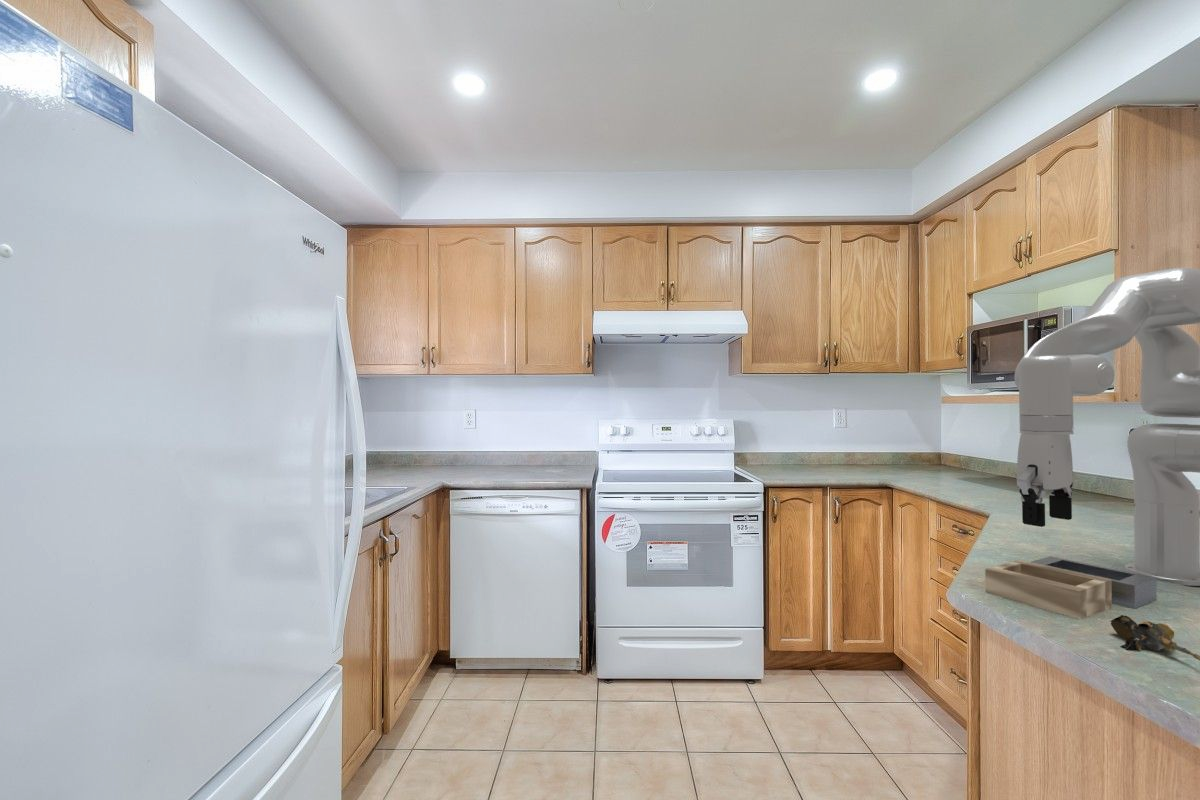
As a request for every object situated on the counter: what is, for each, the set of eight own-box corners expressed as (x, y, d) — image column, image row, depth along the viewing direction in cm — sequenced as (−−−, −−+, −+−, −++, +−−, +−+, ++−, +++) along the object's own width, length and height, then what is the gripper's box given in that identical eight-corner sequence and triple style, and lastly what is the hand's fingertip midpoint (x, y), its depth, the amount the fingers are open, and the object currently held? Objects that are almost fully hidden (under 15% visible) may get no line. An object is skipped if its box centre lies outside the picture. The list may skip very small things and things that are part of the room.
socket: (1019, 585, 109) (1018, 559, 109) (1111, 608, 97) (1111, 579, 97) (985, 596, 103) (985, 568, 103) (1079, 622, 91) (1079, 591, 91)
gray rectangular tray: (1050, 575, 116) (1050, 556, 116) (1156, 599, 102) (1156, 577, 102) (1027, 583, 111) (1027, 562, 111) (1134, 609, 97) (1134, 585, 97)
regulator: (1248, 674, 71) (1143, 630, 86) (1234, 644, 71) (1132, 605, 86) (1188, 694, 71) (1094, 646, 86) (1174, 664, 72) (1084, 622, 86)
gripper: (1044, 422, 108) (1046, 512, 108) (996, 426, 99) (998, 524, 100) (1094, 424, 101) (1095, 519, 101) (1047, 428, 93) (1048, 532, 93)
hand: (1047, 521), depth 100 cm, fingers open, 9 cm apart
